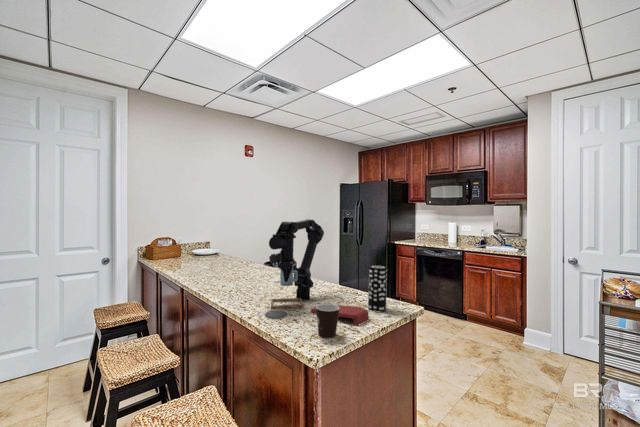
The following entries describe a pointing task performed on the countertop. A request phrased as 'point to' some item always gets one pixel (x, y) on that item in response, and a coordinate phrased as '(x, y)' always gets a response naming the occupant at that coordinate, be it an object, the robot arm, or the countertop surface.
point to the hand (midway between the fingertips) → (286, 280)
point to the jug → (290, 280)
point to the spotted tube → (377, 288)
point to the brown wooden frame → (286, 305)
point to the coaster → (276, 314)
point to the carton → (351, 313)
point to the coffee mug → (327, 320)
